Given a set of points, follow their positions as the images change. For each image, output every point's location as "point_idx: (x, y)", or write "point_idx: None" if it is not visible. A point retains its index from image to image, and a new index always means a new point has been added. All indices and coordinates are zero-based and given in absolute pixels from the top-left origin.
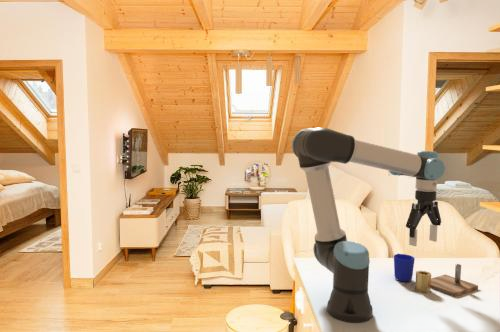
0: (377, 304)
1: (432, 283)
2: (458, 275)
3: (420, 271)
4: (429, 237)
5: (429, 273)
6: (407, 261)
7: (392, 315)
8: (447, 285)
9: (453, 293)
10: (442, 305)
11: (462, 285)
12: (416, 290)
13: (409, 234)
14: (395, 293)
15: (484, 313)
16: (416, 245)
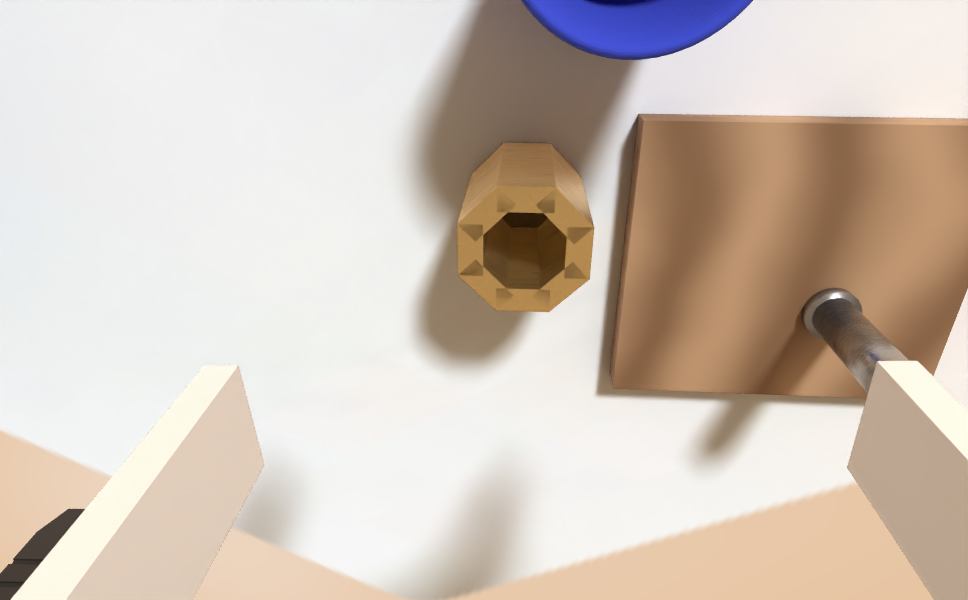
0: (9, 189)
1: (666, 204)
2: (846, 366)
3: (541, 207)
4: (907, 395)
5: (568, 284)
6: (553, 32)
7: (20, 331)
8: (726, 289)
9: (613, 377)
10: (413, 397)
11: (825, 345)
12: (471, 175)
13: (15, 558)
14: (269, 124)
15: (526, 539)
16: (258, 471)
